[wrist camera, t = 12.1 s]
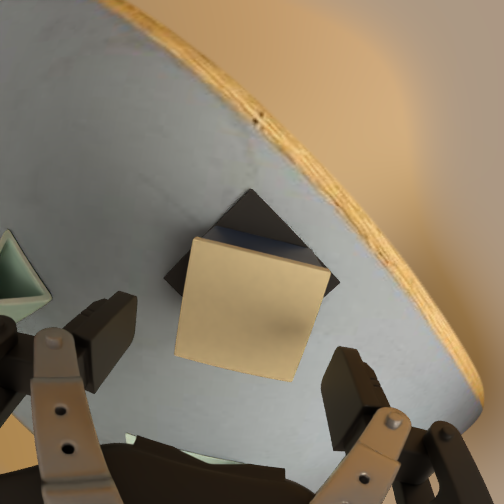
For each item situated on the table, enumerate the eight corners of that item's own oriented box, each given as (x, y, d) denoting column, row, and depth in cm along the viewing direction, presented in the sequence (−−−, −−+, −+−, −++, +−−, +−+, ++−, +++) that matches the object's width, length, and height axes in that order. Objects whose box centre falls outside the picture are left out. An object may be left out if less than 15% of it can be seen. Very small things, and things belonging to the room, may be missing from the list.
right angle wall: (244, 463, 24) (238, 525, 16) (225, 508, 27) (219, 555, 19) (125, 432, 24) (98, 487, 16) (132, 484, 27) (115, 527, 19)
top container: (212, 221, 18) (192, 238, 13) (315, 246, 18) (331, 272, 13) (194, 314, 19) (173, 355, 15) (287, 336, 20) (291, 382, 15)
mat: (164, 276, 19) (163, 278, 19) (251, 188, 18) (251, 188, 17) (250, 354, 20) (249, 357, 20) (339, 280, 19) (340, 282, 18)
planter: (16, 392, 24) (43, 337, 17) (-29, 373, 20) (-30, 302, 13) (26, 337, 29) (63, 259, 23) (-15, 317, 26) (5, 227, 19)
